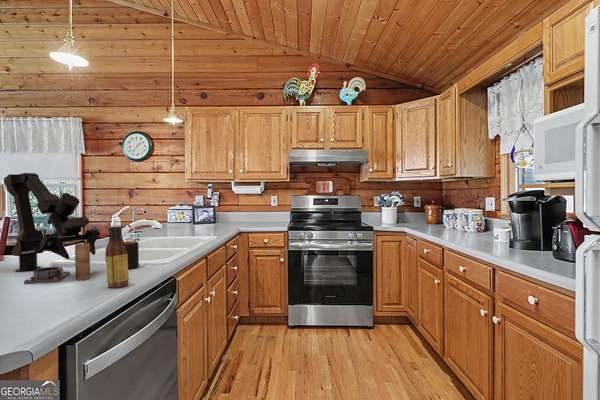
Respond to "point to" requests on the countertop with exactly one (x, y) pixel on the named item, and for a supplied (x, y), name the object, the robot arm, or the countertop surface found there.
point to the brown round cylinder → (82, 261)
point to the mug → (132, 254)
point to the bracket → (47, 275)
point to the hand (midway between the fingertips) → (82, 256)
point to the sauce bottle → (116, 259)
